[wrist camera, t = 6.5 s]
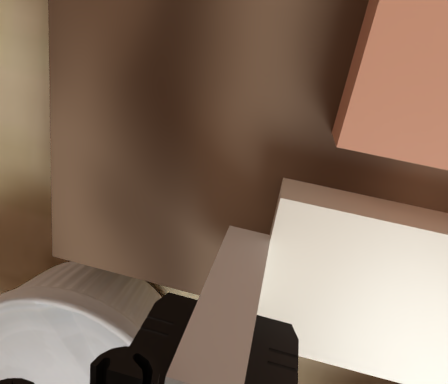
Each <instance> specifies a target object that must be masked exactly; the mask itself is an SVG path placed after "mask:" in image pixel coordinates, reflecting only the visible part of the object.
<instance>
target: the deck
mask: <svg viewBox="0 0 448 384" xmlns="http://www.w3.org/2000/svg"><path fill="white" fill-rule="evenodd" d="M368 2H369V0H48V10H49V74H50V138H51V202H52V256H53V257H57V258H61V259H65V260H68V261H72V262H76V263H80V264H83V265H87V266H91V267H95V268H99V269H102V270H106V271H110V272H114V273H117V274H121V275H125V276H129V277H133V278H136V279H140V280H144V281H148V282H151V283H155V284H159V285H163V286H166V287H170V288H174V289H178V290H182V291H185V292H189V293H193V294H197V295H200V294H201V292H202V289H203V287H204V285H205V282H206V280H207V277H208V275H209V273H210V270H211V268H212V266H213V263H214V261H215V259H216V256H217V254H218V252H219V249H220V247H221V244H222V242H223V240H224V237H225V235H226V233H227V230H228V228H229V226H234V227H238V228H242V229H247V230H251V231H255V232H259V233H263V234H268V235H270V231H271V227H272V223H273V219H274V214H275V210H276V206H277V202H278V197H279V193H280V189H281V185H282V180H283V178H287V179H292V180H297V181H301V182H306V183H311V184H315V185H320V186H324V187H329V188H334V189H338V190H343V191H348V192H352V193H357V194H362V195H366V196H371V197H375V198H380V199H385V200H389V201H394V202H399V203H403V204H408V205H412V206H417V207H422V208H426V209H431V210H436V211H440V212H445V213H448V170H444V169H439V168H434V167H429V166H424V165H420V164H415V163H410V162H405V161H400V160H396V159H391V158H386V157H381V156H376V155H372V154H367V153H362V152H357V151H352V150H348V149H343V148H338V147H336V144H335V141H334V138H333V135H332V130H333V126H334V123H335V119H336V116H337V112H338V109H339V105H340V101H341V98H342V94H343V91H344V87H345V84H346V80H347V77H348V73H349V69H350V66H351V62H352V59H353V55H354V52H355V48H356V45H357V41H358V37H359V34H360V30H361V27H362V23H363V20H364V16H365V13H366V9H367V5H368Z"/></svg>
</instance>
